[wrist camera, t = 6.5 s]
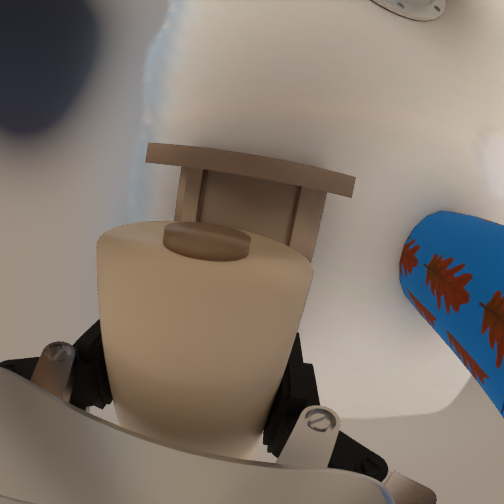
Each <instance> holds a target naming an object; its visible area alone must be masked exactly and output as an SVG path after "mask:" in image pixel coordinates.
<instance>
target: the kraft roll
mask: <svg viewBox="0 0 504 504" xmlns="http://www.w3.org/2000/svg"><path fill="white" fill-rule="evenodd" d="M96 253H97V288H98V303H99V315H100V325H101V334H102V342H103V349H104V356H105V362H106V368H107V373H108V378H109V384H110V388H111V393H112V398H113V401H114V406H115V410H116V414H117V418H118V422H119V425H120V427H123V428H125V429H128V430H131V431H134V432H136V433H139V434H142V435H145V436H148V437H151V438H154V439H157V440H160V441H164V442H167V443H170V444H174V445H178V446H181V447H185V448H189V449H193V450H197V451H202V452H206V453H211V454H216V455H221V456H226V457H232V458H238V459H245V460H252V457H253V455H254V453H255V450H256V447H257V445H258V442H259V440H260V437H261V435H262V432H263V430H264V427H265V425H266V422H267V419H268V417H269V414H270V411H271V408H272V406H273V403H274V400H275V397H276V395H277V392H278V389H279V386H280V383H281V380H282V377H283V374H284V371H285V368H286V365H287V362H288V359H289V356H290V353H291V350H292V346H293V343H294V340H295V337H296V333H297V330H298V327H299V323H300V320H301V317H302V313H303V310H304V306H305V303H306V299H307V295H308V292H309V288H310V284H311V281H312V277H313V273H314V270H313V266H312V265H311V263H310V262H309V260H308V259H307V258H306V257H304V256H303V255H302V254H301V253H299V252H297V251H296V250H294V249H292V248H291V247H289V246H287V245H284V244H282V243H280V242H277V241H275V240H272V239H270V238H267V237H264V236H261V235H257V234H254V233H250V232H247V231H243V230H238V229H234V228H230V227H226V226H221V225H216V224H210V223H202V222H182V221H149V222H138V223H132V224H127V225H122V226H119V227H116V228H113V229H111V230H109V231H107V232H105V233H104V234H103V235H102V236H100V238H99V239H98V241H97V252H96Z"/></svg>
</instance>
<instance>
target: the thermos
mask: <svg viewBox="0 0 504 504" xmlns="http://www.w3.org/2000/svg"><path fill="white" fill-rule="evenodd" d="M400 282H401V285H402V288H403V291H404V294H405V295H406V297H407V298H408V299H409V300H410V302H411V303H412V304H413V305H414V307H415V308H416V309H417V311H418V312H419V313H420V314H421V315H422V316H423V318H424V319H425V320H426V321H427V322H428V323H429V324H430V325H431V326H432V328H433V329H434V330H435V331H436V332H437V333H438V334H439V335H440V337H441V338H442V339H443V340H444V341H445V342H446V344H447V345H448V346H449V347H450V348H451V349H452V351H453V352H454V353H455V354H456V355H457V357H458V358H459V359H460V360H461V362H462V363H463V364H464V365H465V366H466V368H467V369H468V370H469V372H470V373H471V374H472V375H473V377H474V378H475V379H476V380H477V382H478V383H479V384H480V386H481V387H482V388H483V390H484V391H485V392H486V394H487V395H488V396H489V398H490V399H491V401H492V402H493V403H494V405H495V406H496V408H497V409H498V410H499V412H500V413H501V415H502V416H503V418H504V226H503V225H501V224H498V223H495V222H491V221H488V220H485V219H482V218H479V217H475V216H470V215H465V214H460V213H455V212H445V211H439V212H437V213H434V214H432V215H429V216H427V217H426V218H424V219H423V220H422V221H421V222H420V223H419V224H418V225H417V226H416V227H415V228H414V229H413V231H412V233H411V234H410V236H409V238H408V239H407V241H406V243H405V245H404V248H403V252H402V256H401V259H400Z"/></svg>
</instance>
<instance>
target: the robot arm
mask: <svg viewBox="0 0 504 504" xmlns="http://www.w3.org/2000/svg"><path fill="white" fill-rule="evenodd" d="M373 1H374V2H376V3H378V4H379V5H381V6H383V7H385V8H386V9H388V10H390V11H392V12H395V13H397V14H399V15H402V16H405V17H407V18H410V19H415V20H420V21H429V20H434V19H436V18H438V17H439V16H440V15H442V14H443V12H444V10H445V0H373ZM112 400H113V398H112V393H111V388H110V384H109V378H108V373H107V368H106V362H105V356H104V349H103V342H102V334H101V325H100V319H99V320H98V321H97V322H96V323H95V324H94V325H92V326H91V327H90V329H88V330H87V331H86V332H85V333H84V334H83V335H82V336H81V337H80V338H79V339H78V340H77V341H76V343H75V344H73V345H71V344H69V343H66V342H60V341H58V342H53V343H50V344H48V345H47V346H46V347H45V348H44V349H43V352H42V354H41V356H40V357H33V358H24V359H14V360H6V361H3V362H1V363H0V504H436V501H437V499H436V494H435V493H434V491H432V490H431V489H430V488H428V487H426V486H424V485H422V484H420V483H418V482H416V481H414V480H412V479H410V478H408V477H406V476H404V475H402V474H401V473H399V472H397V471H393V472H391V471H389V470H388V466H387V463H386V462H385V460H384V459H382V458H381V457H380V456H378V455H377V454H375V453H374V452H372V451H370V450H369V449H367V448H366V447H364V446H363V445H361V444H359V443H358V442H356V441H355V440H353V439H352V438H350V437H349V436H347V435H346V434H344V433H343V432H341V431H340V430H339V429H340V422H341V421H340V418H339V416H338V415H337V414H336V413H335V412H334V411H333V410H332V409H330V408H327V407H324V406H320V402H319V396H318V390H317V385H316V379H315V374H314V368H313V365H312V364H309V363H303V357H302V350H301V344H300V337H299V333H298V332H297V333H296V337H295V340H294V343H293V346H292V350H291V353H290V356H289V359H288V362H287V365H286V368H285V371H284V374H283V377H282V380H281V383H280V386H279V389H278V392H277V395H276V397H275V400H274V403H273V406H272V408H271V411H270V414H269V417H268V419H267V422H266V425H265V427H264V432H263V444H264V445H268V448H267V452H269V453H272V454H273V455H274V456H275V457H277V458H278V459H277V461H276V463H268V462H260V461H252V460H245V459H238V458H232V457H226V456H221V455H216V454H211V453H206V452H202V451H197V450H193V449H189V448H185V447H181V446H178V445H174V444H170V443H167V442H164V441H160V440H157V439H154V438H151V437H148V436H145V435H142V434H139V433H136V432H134V431H131V430H128V429H125V428H123V427H120V426H118V425H115V424H113V423H110V422H108V421H106V420H103V419H101V418H98V417H96V416H94V415H92V414H90V413H89V412H90V406H93V405H94V406H96V407H98V408H101V409H103V408H104V407H105V405H106V404H110V403H111V402H112Z"/></svg>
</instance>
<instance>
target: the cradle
mask: <svg viewBox="0 0 504 504" xmlns="http://www.w3.org/2000/svg"><path fill="white" fill-rule="evenodd" d="M145 162H146V163H157V164H166V165H175V166H182V167H181V174H180V181H179V188H178V195H177V203H176V211H175V219H174V221H182V222H202V223H210V224H216V225H221V226H226V227H230V228H234V229H238V230H243V231H247V232H250V233H254V234H257V235H261V236H264V237H267V238H270V239H272V240H275V241H277V242H280V243H282V244H284V245H287V246H289V247H291V248H292V249H294V250H296V251H297V252H299V253H301V254H302V255H303V256H304V257H306V258H307V259H308V260H309V262H310V263H311V260H312V256H313V252H314V248H315V243H316V239H317V235H318V231H319V226H320V222H321V217H322V213H323V208H324V204H325V199H326V194H327V192H329V193H333V194H337V195H342V196H346V197H350V198H352V193H353V189H354V184H355V179H356V177H353V176H349V175H345V174H341V173H337V172H333V171H329V170H325V169H321V168H317V167H312V166H308V165H303V164H299V163H294V162H289V161H284V160H279V159H274V158H268V157H263V156H257V155H251V154H245V153H238V152H232V151H225V150H218V149H210V148H202V147H193V146H183V145H173V144H161V143H148V148H147V155H146V161H145Z"/></svg>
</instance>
